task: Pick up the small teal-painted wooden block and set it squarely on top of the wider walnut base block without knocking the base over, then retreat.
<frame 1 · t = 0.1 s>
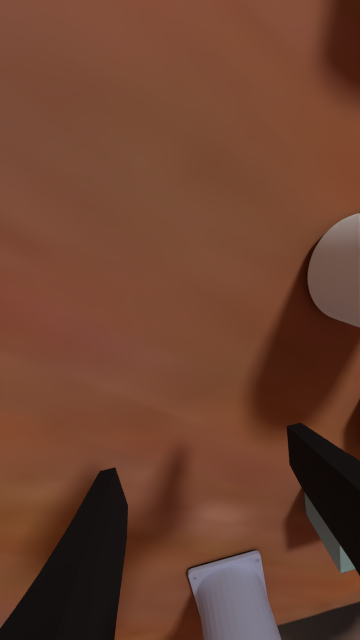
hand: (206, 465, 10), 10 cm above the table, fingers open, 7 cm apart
beverage can: (348, 269, 19), on the table
teal block: (324, 493, 25), on the table
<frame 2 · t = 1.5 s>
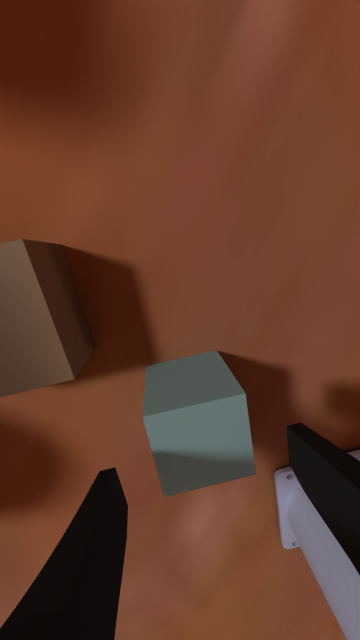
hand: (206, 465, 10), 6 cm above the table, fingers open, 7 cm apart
teal block: (188, 388, 16), on the table
walnut base block: (27, 310, 13), on the table
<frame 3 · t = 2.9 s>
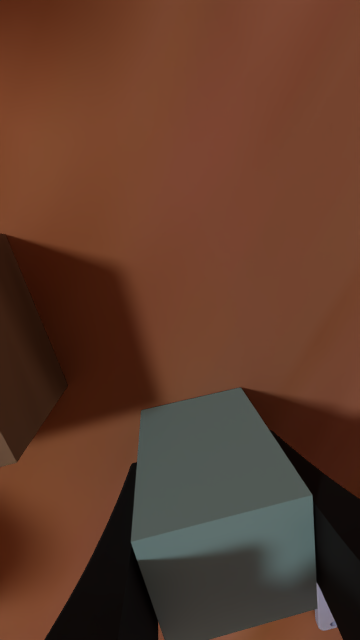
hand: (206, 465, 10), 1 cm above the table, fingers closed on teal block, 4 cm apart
teal block: (199, 439, 11), on the table, touching gripper
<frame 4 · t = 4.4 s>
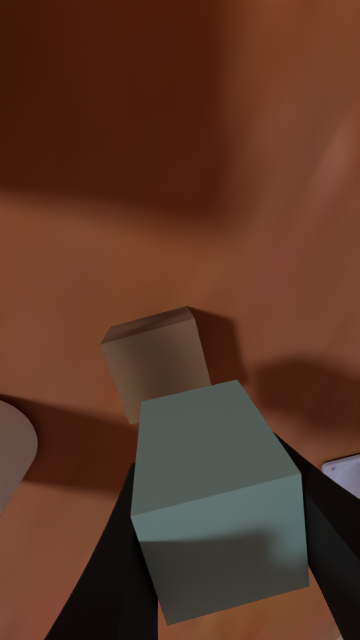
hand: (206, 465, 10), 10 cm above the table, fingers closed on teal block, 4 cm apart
teal block: (198, 430, 12), point 8 cm above the table, touching gripper
walnut base block: (159, 350, 19), on the table
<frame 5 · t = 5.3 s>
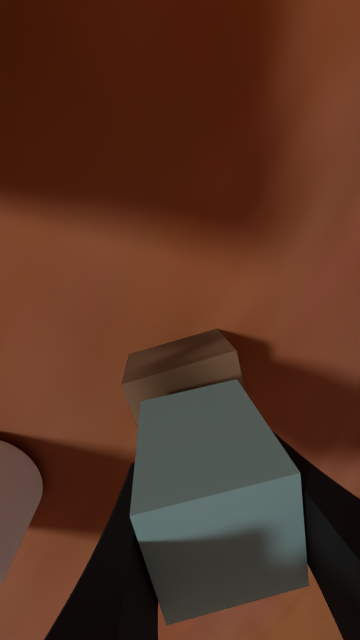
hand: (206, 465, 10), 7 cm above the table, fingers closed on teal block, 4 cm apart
teal block: (197, 430, 12), point 5 cm above the table, touching gripper
walnut base block: (184, 379, 17), on the table
when the fingers open (7 cm above the table, at t = 6.0 s): teal block drops 1 cm, resting on walnut base block.
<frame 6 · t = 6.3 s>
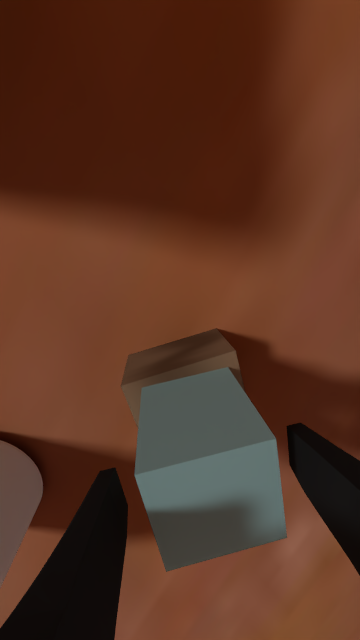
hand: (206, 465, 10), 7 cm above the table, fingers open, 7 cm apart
teal block: (193, 413, 13), point 4 cm above the table, touching walnut base block
walnut base block: (184, 379, 17), on the table, touching teal block
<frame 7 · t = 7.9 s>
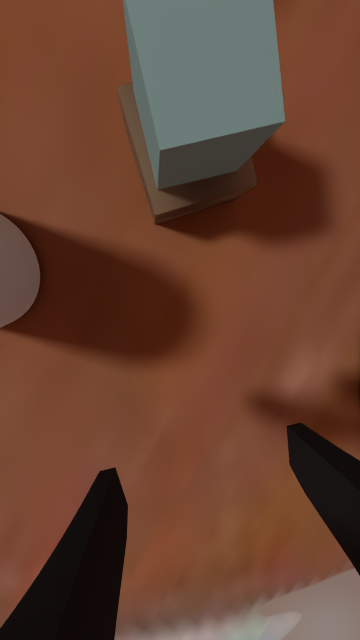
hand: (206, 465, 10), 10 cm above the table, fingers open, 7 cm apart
teal block: (188, 133, 12), point 4 cm above the table, touching walnut base block
walnut base block: (182, 166, 16), on the table, touching teal block
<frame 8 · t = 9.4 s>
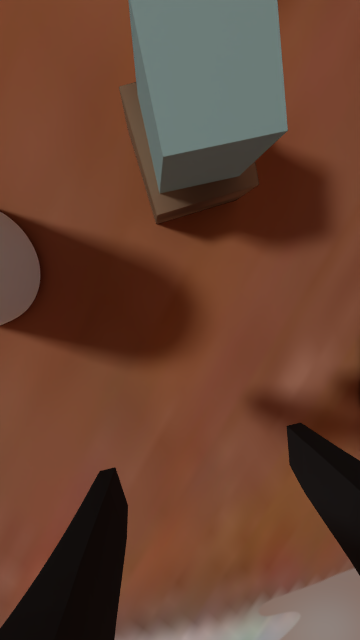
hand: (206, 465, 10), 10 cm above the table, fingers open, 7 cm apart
teal block: (191, 137, 12), point 4 cm above the table, touching walnut base block
walnut base block: (184, 166, 16), on the table, touching teal block
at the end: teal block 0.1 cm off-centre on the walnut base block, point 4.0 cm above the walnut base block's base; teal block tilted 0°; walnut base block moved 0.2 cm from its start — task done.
